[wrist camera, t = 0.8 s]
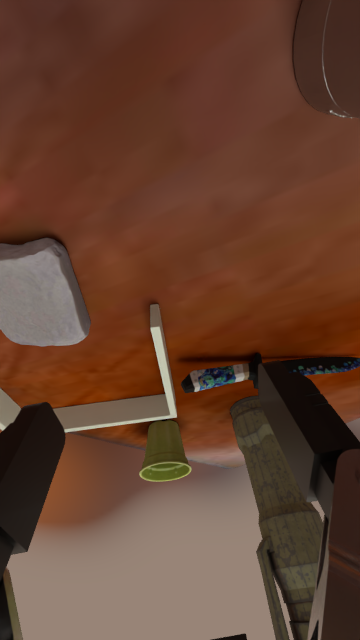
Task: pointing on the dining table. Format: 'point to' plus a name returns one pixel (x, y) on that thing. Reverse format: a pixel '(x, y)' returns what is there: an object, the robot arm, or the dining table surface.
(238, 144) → the dining table surface
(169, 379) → the cream u-shaped barrier
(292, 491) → the stone statue
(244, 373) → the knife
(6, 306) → the stone block
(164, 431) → the plant pot
